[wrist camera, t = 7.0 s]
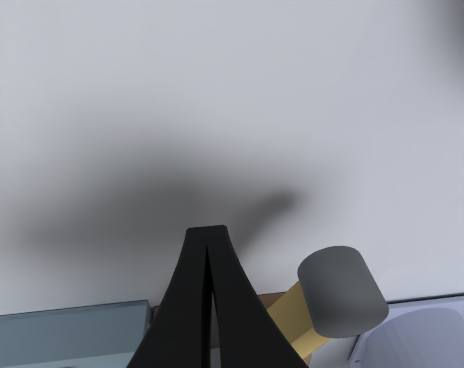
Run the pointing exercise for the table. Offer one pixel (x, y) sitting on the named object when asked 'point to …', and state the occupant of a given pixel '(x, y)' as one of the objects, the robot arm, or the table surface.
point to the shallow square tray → (74, 336)
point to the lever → (327, 301)
